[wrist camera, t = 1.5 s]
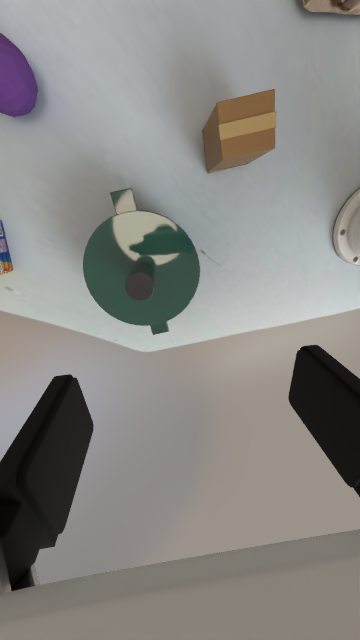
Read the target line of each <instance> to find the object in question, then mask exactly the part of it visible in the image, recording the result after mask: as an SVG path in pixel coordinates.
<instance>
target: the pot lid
mask: <svg viewBox="0 0 360 640" xmlns="http://www.w3.org/2000/svg"><path fill="white" fill-rule="evenodd" d="M83 271H84V277H85V281H86V284H87V287H88V289H89V291H90V293H91V295H92V296H93V298H94V300H95V301H96V302H97V303H98V304H99V306H100V307H101V308H102V309H103V310H105V311H106V312H107V313H108V314H110V315H111V316H113V317H115V318H116V319H118V320H121V321H123V322H126V323H129V324H134V325H155V324H159V323H163V322H166V321H168V320H170V319H172V318H174V317H175V316H177V315H178V314H179V313H181V312H182V311H183V310H184V309H185V308H186V307H187V306H188V304H189V303H190V302H191V300H192V298H193V297H194V295H195V292H196V290H197V287H198V283H199V277H200V266H199V259H198V255H197V252H196V249H195V247H194V245H193V243H192V241H191V239H190V238H189V237H188V235H187V234H186V233H185V232H184V231H183V230H182V228H181V227H179V226H178V225H177V224H176V223H175V222H173V221H171V220H170V219H168V218H167V217H164V216H162V215H160V214H157V213H153V212H149V211H128V212H124V213H120V214H117V215H115V216H113V217H111V218H109V219H108V220H106V221H105V222H103V223H102V224H101V225H100V226H99V227H98V228H97V229H96V230H95V232H94V233H93V234H92V236H91V238H90V239H89V241H88V243H87V246H86V249H85V253H84V259H83Z"/></svg>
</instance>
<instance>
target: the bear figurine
mask: <svg viewBox="0 0 360 640" xmlns="http://www.w3.org/2000/svg"><path fill="white" fill-rule="evenodd" d="M303 5H304V8H306V9H307V10H308V11H310V12H332V13H338V14H352V15H360V0H303Z"/></svg>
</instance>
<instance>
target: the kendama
mask: <svg viewBox="0 0 360 640" xmlns="http://www.w3.org/2000/svg"><path fill="white" fill-rule="evenodd" d="M36 97H37V85H36V81H35V78H34V75H33V72H32V69H31V67H30V66H29V64H28V62H27V60H26V59H25V57H24V55H23V54H22V52H21V51H20V50H19V49H18V48H17V47H16V46H15V45H14V44H13V43H12V42H11V41H10V40H8V39H7V38H6V37H5V36H4V35H3V34H1V33H0V112H1V113H3V114H6V115H10V116H13V117H16V116H21V115H25V114H28V113H29V112H30V111H31V110H32V109H33V108H34V107H35V102H36Z"/></svg>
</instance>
